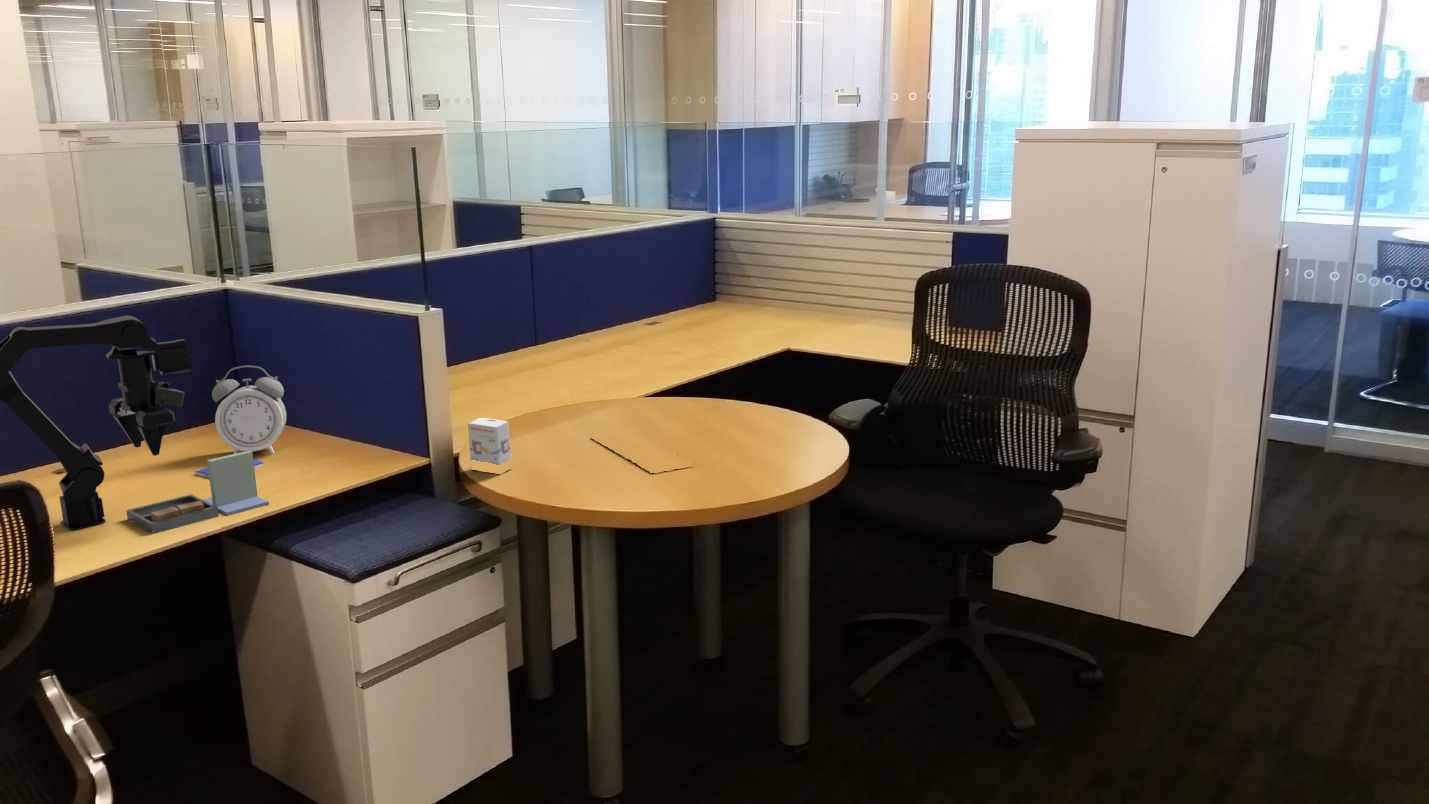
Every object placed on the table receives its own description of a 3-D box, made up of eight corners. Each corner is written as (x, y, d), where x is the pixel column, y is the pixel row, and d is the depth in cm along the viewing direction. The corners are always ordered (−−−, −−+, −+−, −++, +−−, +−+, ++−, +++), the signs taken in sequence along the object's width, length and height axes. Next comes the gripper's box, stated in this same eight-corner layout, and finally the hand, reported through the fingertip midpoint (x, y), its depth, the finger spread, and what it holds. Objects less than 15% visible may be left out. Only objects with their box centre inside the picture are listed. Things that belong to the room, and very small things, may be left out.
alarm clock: (216, 460, 267) (205, 371, 261) (223, 450, 275) (212, 364, 269) (288, 454, 271) (278, 367, 265) (292, 444, 279) (283, 360, 273)
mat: (227, 515, 228) (227, 512, 228) (201, 502, 236) (201, 500, 236) (268, 504, 235) (268, 501, 235) (242, 492, 243) (242, 489, 242)
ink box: (469, 471, 256) (466, 421, 253) (482, 465, 260) (479, 416, 258) (499, 475, 252) (496, 425, 250) (512, 469, 257) (509, 420, 254)
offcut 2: (182, 523, 225) (180, 509, 224) (178, 519, 227) (176, 505, 226) (205, 518, 227) (203, 504, 227) (200, 514, 230) (199, 500, 229)
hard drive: (241, 456, 266) (194, 470, 256) (263, 461, 262) (217, 475, 251) (241, 462, 266) (195, 476, 256) (263, 467, 262) (217, 482, 252)
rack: (152, 533, 218) (151, 524, 218) (127, 519, 227) (126, 510, 226) (218, 516, 228) (217, 507, 227) (192, 503, 236) (191, 494, 236)
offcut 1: (159, 529, 221) (157, 515, 220) (152, 526, 223) (150, 512, 222) (181, 523, 224) (179, 509, 224) (174, 520, 226) (172, 506, 225)
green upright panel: (216, 506, 232) (210, 461, 229) (212, 505, 233) (207, 460, 230) (257, 496, 238) (252, 452, 236) (254, 494, 239) (248, 450, 237)
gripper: (195, 377, 225) (205, 450, 229) (158, 365, 237) (167, 435, 241) (139, 387, 217) (149, 463, 221) (102, 374, 229) (113, 446, 233)
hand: (146, 451), depth 229 cm, fingers open, 9 cm apart
